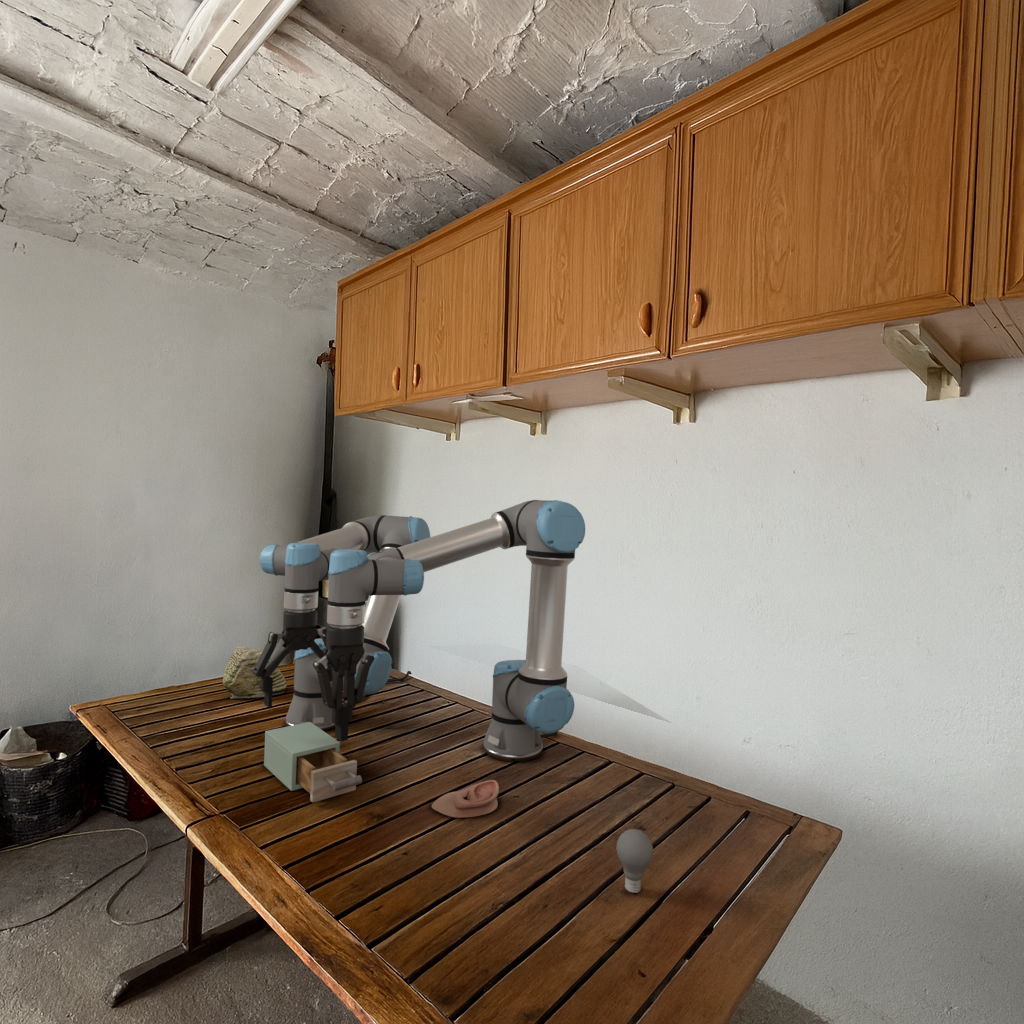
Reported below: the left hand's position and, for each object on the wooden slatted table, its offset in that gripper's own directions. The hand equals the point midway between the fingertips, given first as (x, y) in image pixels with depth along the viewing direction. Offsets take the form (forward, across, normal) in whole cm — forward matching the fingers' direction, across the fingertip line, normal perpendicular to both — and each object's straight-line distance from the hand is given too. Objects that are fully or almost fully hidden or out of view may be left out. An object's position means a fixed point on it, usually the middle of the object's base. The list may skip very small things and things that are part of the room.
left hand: (297, 700), depth 147 cm
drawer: (+15, 0, -16) cm, 22 cm away
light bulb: (+16, +25, -78) cm, 84 cm away
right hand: (+2, 0, -22) cm, 23 cm away
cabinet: (+16, 0, -3) cm, 16 cm away
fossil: (+16, +11, +58) cm, 61 cm away
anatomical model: (+16, +21, -39) cm, 46 cm away
